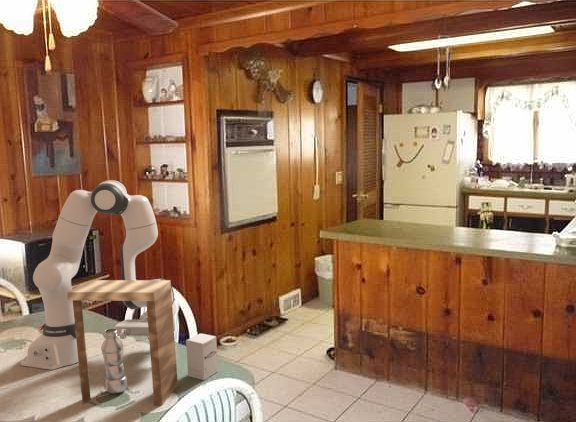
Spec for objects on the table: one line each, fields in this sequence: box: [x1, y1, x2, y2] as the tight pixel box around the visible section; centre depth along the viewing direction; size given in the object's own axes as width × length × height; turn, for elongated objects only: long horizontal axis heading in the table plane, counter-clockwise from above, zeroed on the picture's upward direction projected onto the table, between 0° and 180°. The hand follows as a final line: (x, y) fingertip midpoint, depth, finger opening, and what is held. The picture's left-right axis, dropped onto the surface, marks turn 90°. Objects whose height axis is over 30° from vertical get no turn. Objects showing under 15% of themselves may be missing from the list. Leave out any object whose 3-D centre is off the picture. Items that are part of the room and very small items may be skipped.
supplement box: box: [185, 333, 219, 381], centre depth 170 cm, size 7×7×13 cm
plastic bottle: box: [101, 328, 128, 395], centre depth 160 cm, size 6×7×20 cm
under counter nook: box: [67, 279, 179, 406], centre depth 157 cm, size 27×13×34 cm, turn 82°
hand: (135, 336), depth 170 cm, fingers open, 8 cm apart
